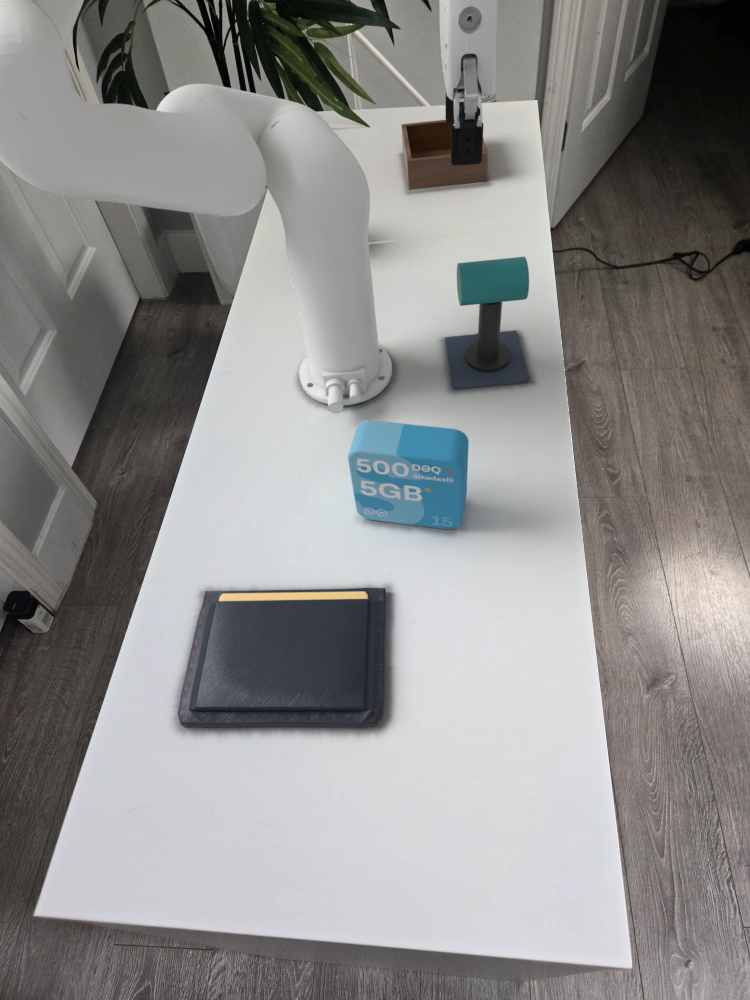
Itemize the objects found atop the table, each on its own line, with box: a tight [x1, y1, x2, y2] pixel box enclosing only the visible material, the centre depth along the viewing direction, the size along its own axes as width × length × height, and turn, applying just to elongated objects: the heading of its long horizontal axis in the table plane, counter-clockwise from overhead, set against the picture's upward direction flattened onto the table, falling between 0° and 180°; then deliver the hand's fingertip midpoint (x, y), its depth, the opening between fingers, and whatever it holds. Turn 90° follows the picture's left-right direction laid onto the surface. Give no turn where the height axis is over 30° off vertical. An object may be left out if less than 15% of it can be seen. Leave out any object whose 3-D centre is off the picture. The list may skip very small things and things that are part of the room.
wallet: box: [177, 587, 387, 729], centre depth 71 cm, size 20×2×15 cm
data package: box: [347, 419, 469, 530], centre depth 77 cm, size 12×4×12 cm, turn 78°
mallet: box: [456, 256, 530, 372], centre depth 90 cm, size 6×8×14 cm
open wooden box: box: [401, 119, 489, 191], centre depth 126 cm, size 14×14×6 cm
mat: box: [444, 329, 531, 391], centre depth 96 cm, size 10×10×1 cm
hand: (462, 141), depth 78 cm, fingers open, 9 cm apart
